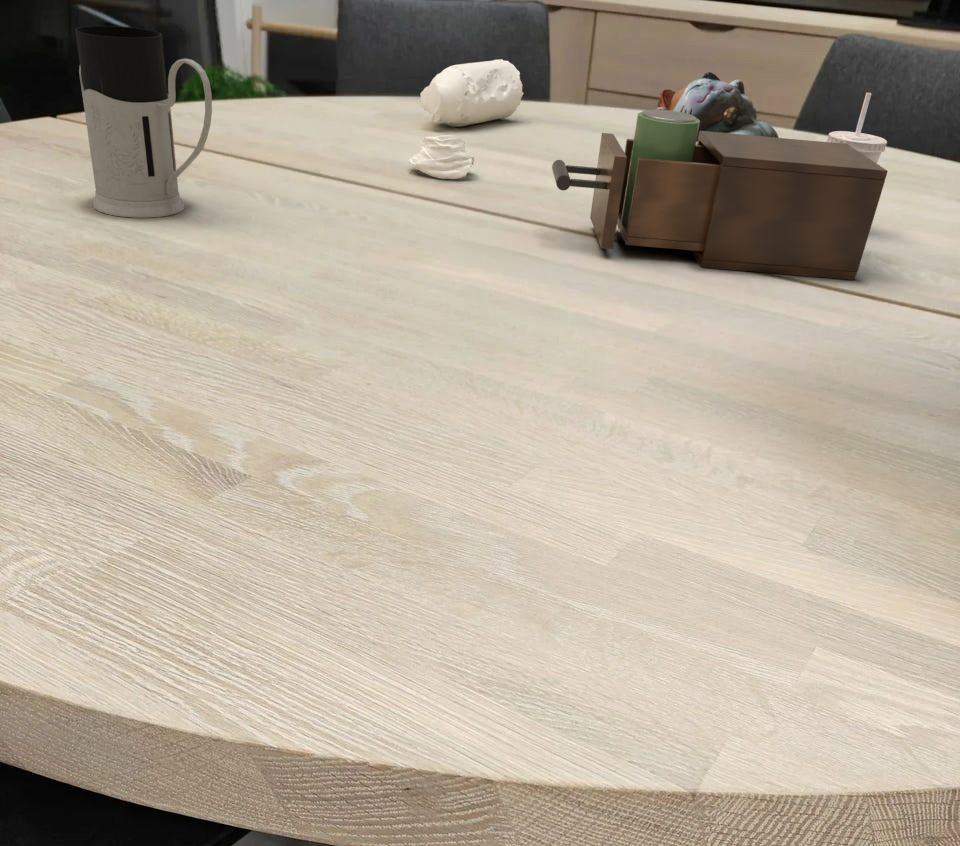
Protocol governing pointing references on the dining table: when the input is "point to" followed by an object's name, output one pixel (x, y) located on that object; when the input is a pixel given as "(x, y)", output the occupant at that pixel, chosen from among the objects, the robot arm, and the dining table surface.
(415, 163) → the whipped cream
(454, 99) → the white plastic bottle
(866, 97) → the smoothie
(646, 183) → the drawer
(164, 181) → the glass holder
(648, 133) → the can
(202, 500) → the dining table surface
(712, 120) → the lucky cat figurine
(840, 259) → the cabinet
